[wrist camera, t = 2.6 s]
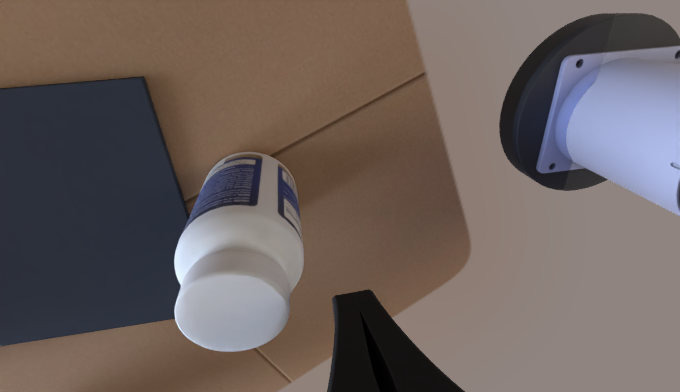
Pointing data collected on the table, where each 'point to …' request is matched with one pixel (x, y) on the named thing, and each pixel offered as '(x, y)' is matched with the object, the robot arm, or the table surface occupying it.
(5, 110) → the mat
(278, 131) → the table surface
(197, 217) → the pill bottle
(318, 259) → the table surface
